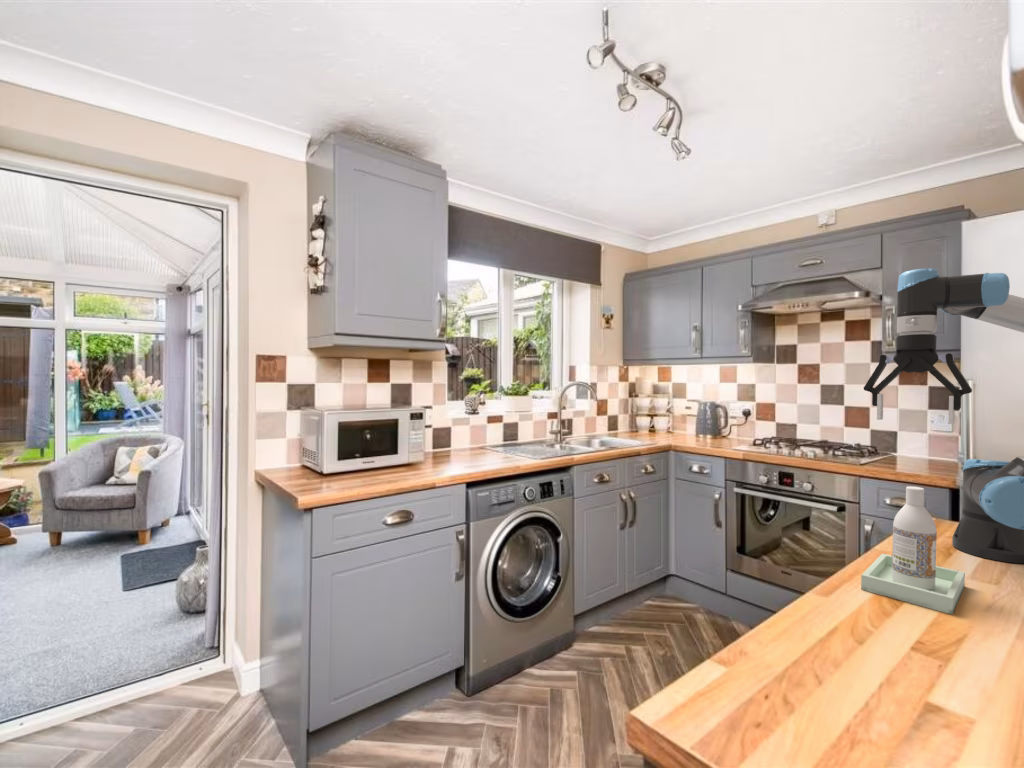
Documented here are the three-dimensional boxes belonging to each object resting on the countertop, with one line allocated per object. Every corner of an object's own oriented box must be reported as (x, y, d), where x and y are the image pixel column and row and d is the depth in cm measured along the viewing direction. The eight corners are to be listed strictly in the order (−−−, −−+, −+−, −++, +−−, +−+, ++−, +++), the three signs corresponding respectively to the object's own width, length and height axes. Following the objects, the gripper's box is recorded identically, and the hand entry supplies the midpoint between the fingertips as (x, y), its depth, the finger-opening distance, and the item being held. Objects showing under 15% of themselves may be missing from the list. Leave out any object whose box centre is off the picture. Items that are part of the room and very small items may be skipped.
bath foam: (932, 594, 96) (935, 493, 96) (888, 583, 101) (891, 487, 101) (937, 584, 101) (939, 488, 100) (895, 574, 106) (897, 482, 105)
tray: (881, 566, 112) (882, 553, 112) (964, 586, 102) (964, 572, 102) (861, 589, 100) (861, 574, 100) (952, 614, 90) (953, 598, 90)
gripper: (851, 336, 125) (849, 418, 126) (986, 330, 107) (983, 426, 107) (858, 337, 130) (857, 417, 131) (989, 332, 112) (986, 424, 112)
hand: (914, 421), depth 119 cm, fingers open, 13 cm apart
